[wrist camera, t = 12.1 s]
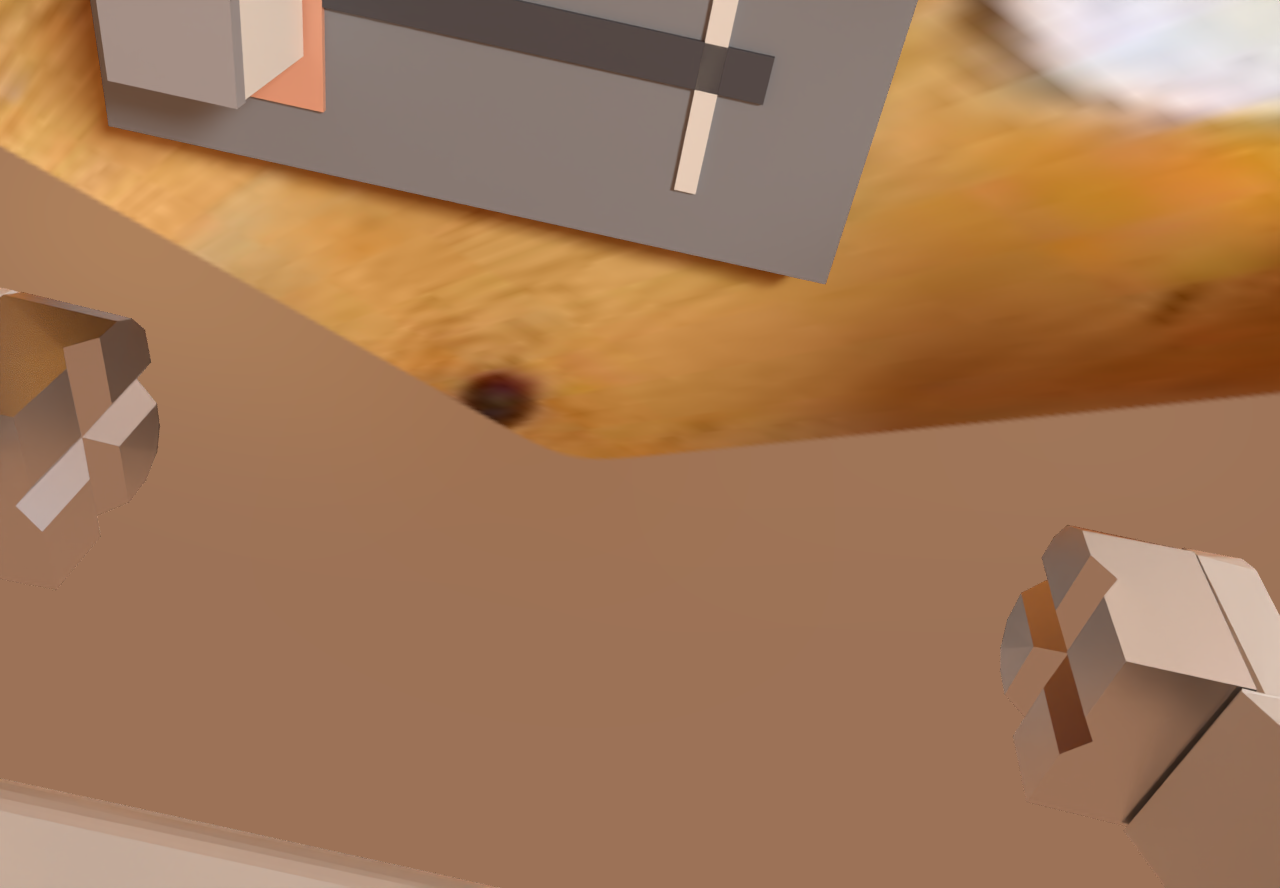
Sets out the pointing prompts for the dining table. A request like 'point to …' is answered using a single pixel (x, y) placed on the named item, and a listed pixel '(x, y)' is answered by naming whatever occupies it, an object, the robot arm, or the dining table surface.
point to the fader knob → (200, 45)
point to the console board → (580, 113)
